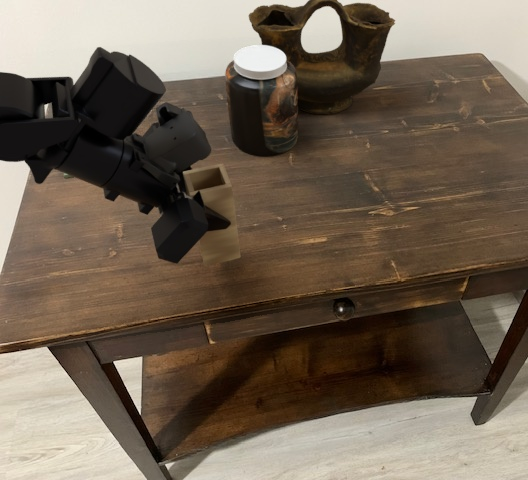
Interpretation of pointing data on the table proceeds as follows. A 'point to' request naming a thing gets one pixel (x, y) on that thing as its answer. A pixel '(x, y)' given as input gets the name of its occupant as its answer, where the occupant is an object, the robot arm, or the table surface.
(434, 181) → the table surface
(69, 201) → the table surface
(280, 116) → the jar
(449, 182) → the table surface
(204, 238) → the square pencil holder
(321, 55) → the pottery vessel
